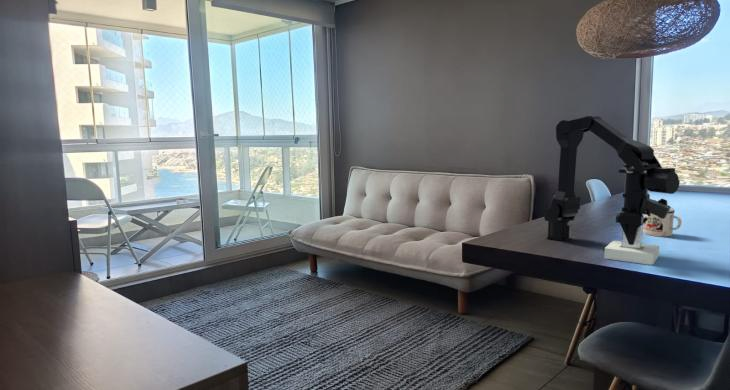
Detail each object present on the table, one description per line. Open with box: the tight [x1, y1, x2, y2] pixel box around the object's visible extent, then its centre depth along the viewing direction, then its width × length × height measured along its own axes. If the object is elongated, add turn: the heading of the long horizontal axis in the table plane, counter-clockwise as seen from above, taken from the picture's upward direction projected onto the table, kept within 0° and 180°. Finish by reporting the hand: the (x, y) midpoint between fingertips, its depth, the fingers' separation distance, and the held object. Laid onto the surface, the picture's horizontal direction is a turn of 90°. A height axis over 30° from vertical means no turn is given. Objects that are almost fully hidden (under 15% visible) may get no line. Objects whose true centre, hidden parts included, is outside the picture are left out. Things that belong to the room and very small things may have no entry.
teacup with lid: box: [643, 207, 683, 238], centre depth 163 cm, size 12×9×12 cm
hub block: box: [603, 239, 660, 266], centre depth 136 cm, size 12×12×3 cm
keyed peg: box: [621, 224, 644, 250], centre depth 136 cm, size 3×5×8 cm
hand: (632, 243), depth 136 cm, fingers closed on keyed peg, 3 cm apart
